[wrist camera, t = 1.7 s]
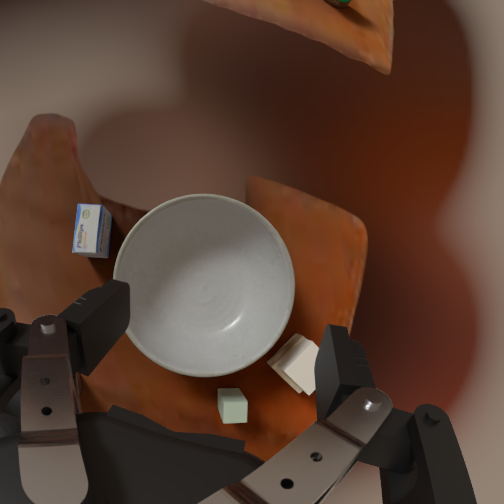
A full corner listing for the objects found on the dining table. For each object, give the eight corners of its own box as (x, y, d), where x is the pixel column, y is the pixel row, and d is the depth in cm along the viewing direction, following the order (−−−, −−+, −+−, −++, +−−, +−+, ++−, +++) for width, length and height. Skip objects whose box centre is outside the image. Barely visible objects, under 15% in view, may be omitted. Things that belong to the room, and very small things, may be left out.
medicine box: (108, 258, 53) (97, 254, 45) (86, 257, 52) (71, 252, 44) (112, 215, 54) (102, 204, 46) (90, 214, 53) (76, 203, 45)
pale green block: (238, 406, 56) (246, 422, 48) (217, 407, 55) (223, 423, 48) (239, 388, 56) (247, 401, 49) (217, 388, 55) (223, 402, 48)
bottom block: (292, 387, 59) (299, 393, 55) (265, 361, 58) (271, 366, 54) (320, 359, 61) (328, 363, 57) (295, 332, 60) (303, 335, 56)
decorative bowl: (257, 368, 57) (277, 387, 46) (114, 342, 52) (99, 357, 40) (283, 229, 61) (308, 217, 49) (144, 197, 56) (136, 176, 44)
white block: (301, 389, 55) (309, 395, 51) (276, 365, 54) (283, 371, 51) (326, 362, 57) (336, 367, 53) (304, 338, 56) (312, 341, 52)
